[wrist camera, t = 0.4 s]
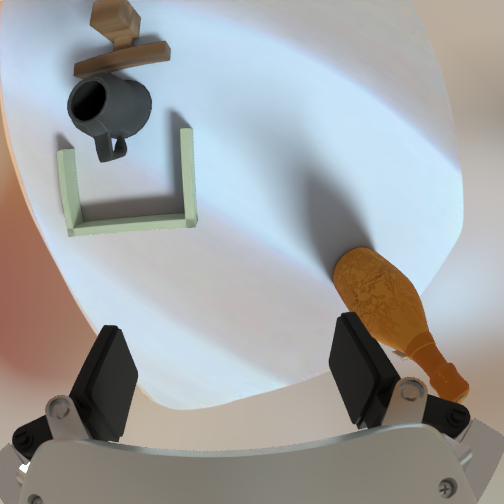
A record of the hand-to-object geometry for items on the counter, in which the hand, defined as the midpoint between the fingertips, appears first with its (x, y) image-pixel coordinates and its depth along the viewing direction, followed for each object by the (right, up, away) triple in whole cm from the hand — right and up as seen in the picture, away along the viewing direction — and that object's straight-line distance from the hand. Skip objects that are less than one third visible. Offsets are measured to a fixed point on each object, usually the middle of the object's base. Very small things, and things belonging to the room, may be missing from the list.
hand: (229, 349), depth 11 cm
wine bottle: (+19, +1, +34) cm, 39 cm away
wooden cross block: (-18, +35, +16) cm, 42 cm away
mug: (-17, +23, +21) cm, 36 cm away
